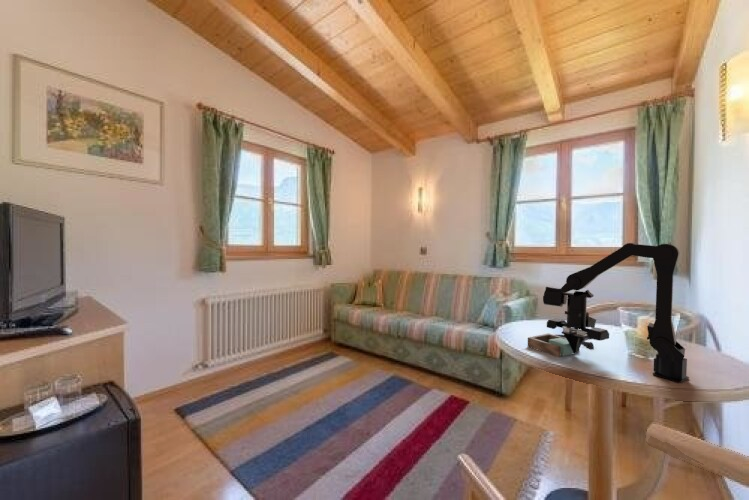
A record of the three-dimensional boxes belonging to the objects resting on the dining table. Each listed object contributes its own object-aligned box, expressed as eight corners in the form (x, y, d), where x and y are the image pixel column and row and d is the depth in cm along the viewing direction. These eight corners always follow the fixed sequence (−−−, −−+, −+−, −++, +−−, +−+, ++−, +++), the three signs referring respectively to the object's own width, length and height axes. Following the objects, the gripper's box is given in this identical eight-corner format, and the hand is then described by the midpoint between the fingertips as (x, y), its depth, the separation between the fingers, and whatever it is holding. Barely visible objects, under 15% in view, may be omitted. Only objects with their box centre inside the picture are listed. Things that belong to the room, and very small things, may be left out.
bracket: (571, 349, 125) (572, 342, 124) (553, 337, 139) (554, 331, 139) (612, 351, 123) (612, 344, 123) (589, 339, 138) (589, 332, 138)
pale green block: (575, 353, 119) (575, 342, 119) (563, 355, 116) (563, 344, 116) (559, 348, 124) (560, 337, 124) (548, 350, 122) (548, 339, 122)
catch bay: (579, 351, 121) (579, 341, 121) (558, 356, 115) (558, 346, 115) (548, 342, 132) (548, 333, 132) (527, 346, 126) (527, 337, 126)
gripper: (618, 311, 111) (617, 357, 111) (564, 302, 127) (563, 342, 128) (600, 315, 106) (598, 363, 106) (546, 304, 122) (545, 346, 123)
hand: (575, 352), depth 116 cm, fingers closed
